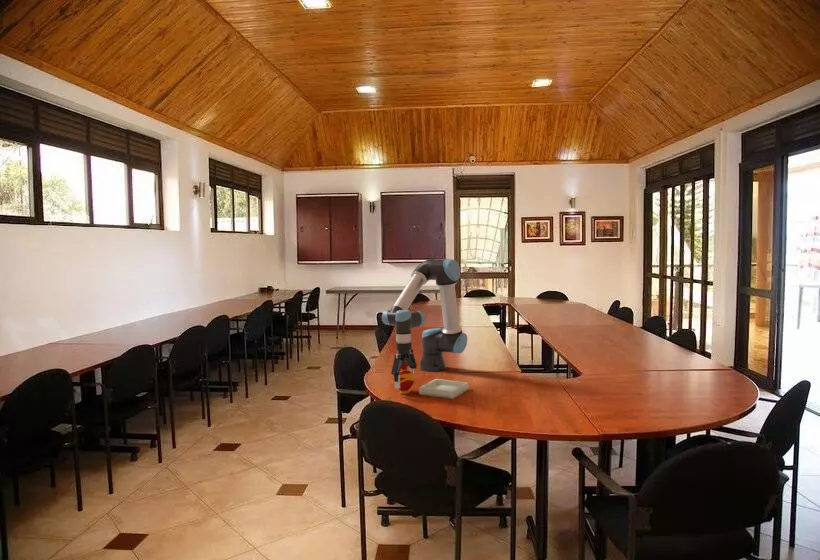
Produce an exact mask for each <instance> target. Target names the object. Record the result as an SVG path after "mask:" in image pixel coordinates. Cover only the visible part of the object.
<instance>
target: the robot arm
mask: <svg viewBox="0 0 820 560" xmlns="http://www.w3.org/2000/svg"><path fill="white" fill-rule="evenodd" d="M460 277H461V267H460V264H459V263H458V261H456V259H452V258H429V259H426V260H424V261H422V262H421V263H420V264H419V265H418V266H416V267H415V268H414V269H413V271H412V272H411V274H410V279H409V280H408V282H407V284H406V286H404V288H403V290H402V291H401V293H400V294H399V296H398V297H397V299H396V301H395V302H394V304H393V305H392V307H391V308H390V309H387V310H384V311H383V312H382V315H381V321H382V323H383V324H384V325H387V326H395V341H396V343H395V349H396V351H398V353H394V358H393V363H392V364H393V365H392V368H391V372H390V373H391V375H393V376H394V382H393V383H394V389H398V388H399V389H400V375H399V372H400V370H401V367H402V364H403V363H404V361H407V362H408V367H409V368H408V370H409V371H411V372H412V373H414V374H415V369H417V366H418V365H417V361H416V358H415V355H414V349H412V340H413V339H412V328H419V327H420V326H423V325H424V324H425V322H426V315H425V314H424V313H423V312H422V311H420V310H417V311H411V310H408V309H409V307H410V306H411V305H412V303H413V302H414V300H415V298H416V297H417V295H418V293H419V292H420V290H421V289H422V287H423V286H425V285H426V284H427V282H428V281H435V285H436V286H437V287H439V296H440V304H441V312H442V313H441V315H442V324H443V328H441V327H435V328H427V329H425V330H423V331H422V335H421V345H422V346H421V347H422V357H421V360H420V363H419V370H421V371H425V372H440V371H445V370H446V368H447V367H446V366H447V365H446V361H445V359H444V354H443V353H450V354H451V353H452V354H461V353H463V352H465V350H466V347H467V345H468V336H467V334H466V333H465V332H463V328H462V327H461V326H460V323H459V312H458V304H457V295H456V285H457V283H458V280H459V279H460ZM399 389H398V390H399Z"/></svg>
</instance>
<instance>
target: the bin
mask: <svg viewBox="0 0 820 560" xmlns="http://www.w3.org/2000/svg"><path fill="white" fill-rule="evenodd" d="M467 391H469V382H464V381H459V380H451V379H450V380H448V379H442V378H435V379H433V380H430V381H428V382H426V383H425V384H422V385H420V386H419V387H418V395H421V396H429V397H434V398H435V397H437V398H441V397H442V398H443V399H448V400H449V399H450V400H455V398H457V397H459V396H460V395H462V394H464V393H465V392H467Z"/></svg>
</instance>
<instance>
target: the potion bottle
mask: <svg viewBox="0 0 820 560" xmlns="http://www.w3.org/2000/svg"><path fill="white" fill-rule="evenodd" d="M408 367H409V365H408V362H407V361H404V363H403V364H402V367H401V370H400V372H399V375H400V389H399V388H397V389H398V390H399V392H398V393H399V394H403V395H406V394H410V392H411V391H410V389H411V388H412V387H413V386H414V384H415V381H416V380H415V372H414V373H412V372H411V371H409V369H408Z"/></svg>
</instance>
